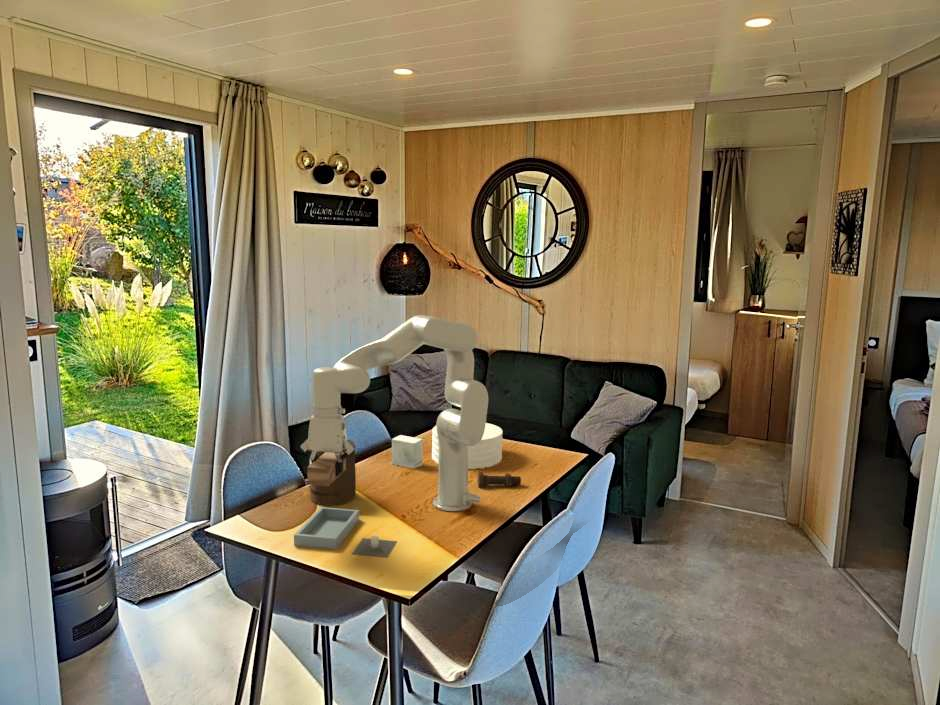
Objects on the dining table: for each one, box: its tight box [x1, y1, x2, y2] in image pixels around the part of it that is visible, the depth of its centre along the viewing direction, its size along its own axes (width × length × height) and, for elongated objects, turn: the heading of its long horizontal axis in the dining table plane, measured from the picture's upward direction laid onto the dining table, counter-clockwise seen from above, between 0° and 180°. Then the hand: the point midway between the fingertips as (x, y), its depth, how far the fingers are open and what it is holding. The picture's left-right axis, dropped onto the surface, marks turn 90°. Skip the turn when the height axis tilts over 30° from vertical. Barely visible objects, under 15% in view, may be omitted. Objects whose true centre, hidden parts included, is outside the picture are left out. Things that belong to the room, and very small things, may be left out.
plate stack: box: [431, 422, 504, 470], centre depth 260 cm, size 28×28×12 cm
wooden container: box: [309, 439, 357, 506], centre depth 215 cm, size 15×15×22 cm
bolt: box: [477, 471, 522, 489], centre depth 230 cm, size 6×5×15 cm
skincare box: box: [391, 434, 424, 470], centre depth 250 cm, size 10×6×10 cm, turn 63°
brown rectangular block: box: [306, 452, 346, 486], centre depth 185 cm, size 14×6×5 cm, turn 171°
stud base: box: [351, 535, 398, 559], centre depth 179 cm, size 10×10×4 cm
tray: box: [293, 506, 360, 550], centre depth 188 cm, size 12×20×4 cm, turn 171°
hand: (327, 472), depth 185 cm, fingers closed on brown rectangular block, 6 cm apart
